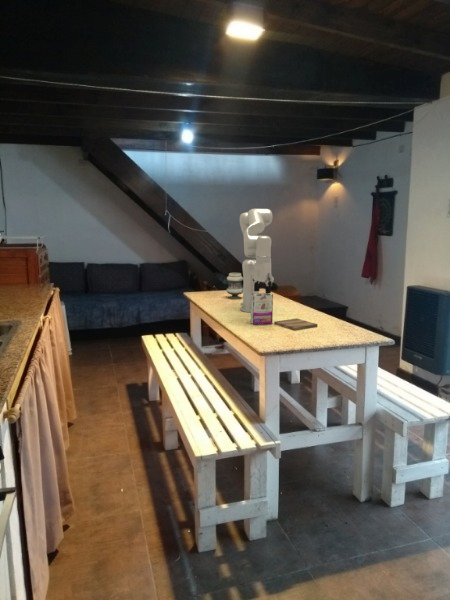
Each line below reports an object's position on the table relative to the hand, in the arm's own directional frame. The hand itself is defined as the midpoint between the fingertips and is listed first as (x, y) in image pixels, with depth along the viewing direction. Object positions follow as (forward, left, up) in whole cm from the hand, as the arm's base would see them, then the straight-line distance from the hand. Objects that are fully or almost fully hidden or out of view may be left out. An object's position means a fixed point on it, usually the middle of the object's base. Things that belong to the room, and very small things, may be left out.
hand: (262, 292), depth 234 cm
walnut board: (+12, +13, -17) cm, 25 cm away
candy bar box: (-1, 0, -17) cm, 17 cm away
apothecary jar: (-72, +32, -17) cm, 80 cm away
